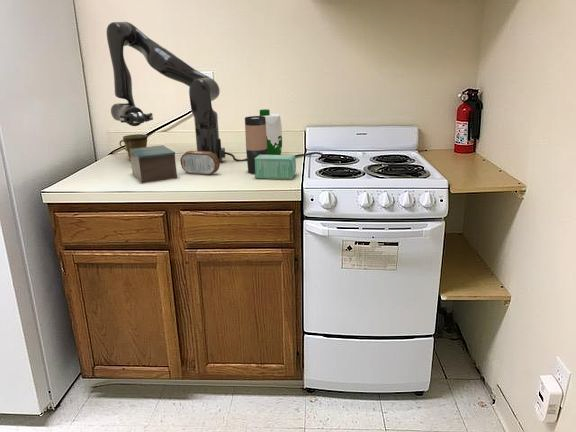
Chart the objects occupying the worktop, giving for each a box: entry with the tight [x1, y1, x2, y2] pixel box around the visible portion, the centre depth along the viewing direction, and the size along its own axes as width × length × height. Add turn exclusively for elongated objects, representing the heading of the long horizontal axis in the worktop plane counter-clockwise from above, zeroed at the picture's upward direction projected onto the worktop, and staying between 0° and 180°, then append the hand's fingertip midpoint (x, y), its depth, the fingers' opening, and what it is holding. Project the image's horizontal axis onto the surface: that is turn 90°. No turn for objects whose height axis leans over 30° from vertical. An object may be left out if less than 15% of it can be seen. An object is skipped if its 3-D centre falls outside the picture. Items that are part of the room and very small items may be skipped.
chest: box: [130, 152, 178, 184], centre depth 181 cm, size 16×13×9 cm
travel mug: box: [244, 115, 267, 175], centre depth 182 cm, size 8×8×20 cm
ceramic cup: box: [118, 133, 148, 162], centre depth 209 cm, size 13×10×10 cm
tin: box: [180, 150, 220, 176], centre depth 182 cm, size 15×3×8 cm, turn 71°
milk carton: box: [258, 108, 283, 155], centre depth 203 cm, size 9×9×20 cm
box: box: [254, 154, 297, 180], centre depth 175 cm, size 7×14×8 cm, turn 79°
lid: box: [129, 144, 176, 159], centre depth 179 cm, size 16×13×1 cm
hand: (141, 120), depth 184 cm, fingers closed
